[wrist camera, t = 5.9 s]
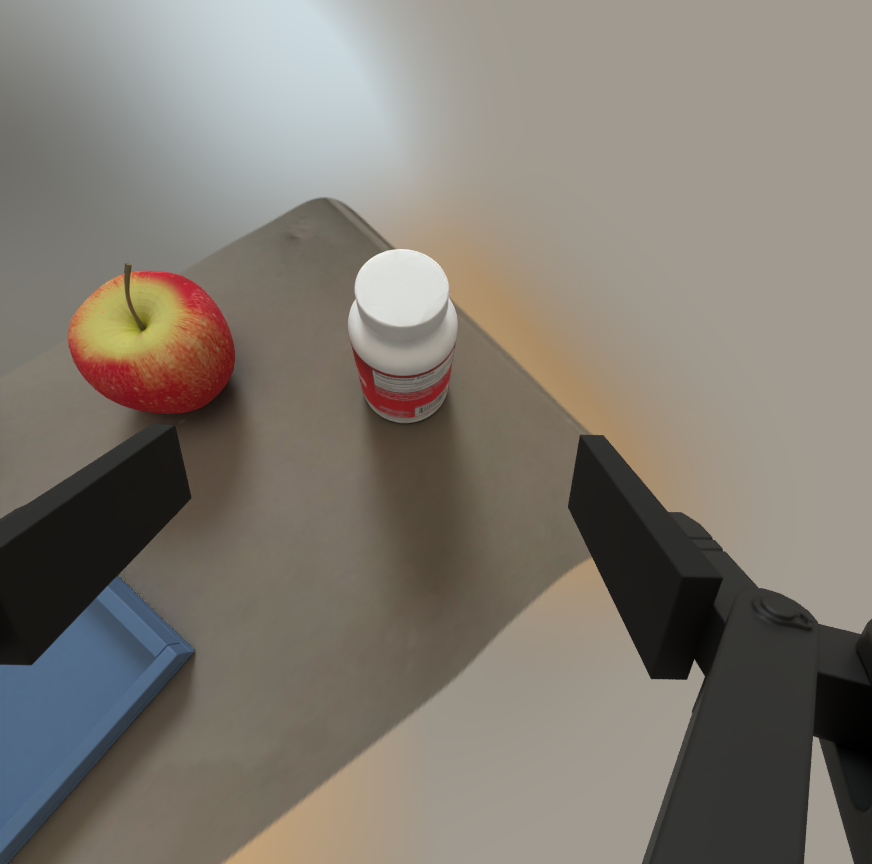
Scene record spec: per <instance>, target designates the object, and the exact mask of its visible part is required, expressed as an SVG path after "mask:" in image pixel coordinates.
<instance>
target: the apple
mask: <svg viewBox="0 0 872 864" xmlns="http://www.w3.org/2000/svg"><path fill="white" fill-rule="evenodd" d="M131 266H132V265H131V264H129V263H125V270H124V274H122V275H120V276H117V277H115V278H113V279H112V280H110V281H108V282H107V283H105V284H104V285H103V286H101V287H100V288H99V289H97V290H96V291H95V292H94V293H93V294H92V295H91V296H90V297H89V298H88V299H87V300H86V301H85V302H84V303H83V304H82V305H81V306H80V307H79V309H78V310H77V311H76V313H75V314H74V316H73V318H72V320H71V322H70V326H69V330H68V343H69V349H70V352H71V355H72V358H73V360H74V363H75V365H76V366H77V368H78V370H79V371H80V373H81V374H82V375H83V377H84V378H85V379H86V380H87V381H88V382H89V383H90V384H91V385H92V386H93V387H94V388H95V389H96V390H97V391H98V392H100V393H101V394H102V395H104V396H105V397H106V398H108V399H110V400H112V401H114V402H116V403H118V404H120V405H123V406H125V407H129V408H132V409H135V410H139V411H145V412H151V413H161V414H172V413H185V412H190V411H193V410H197V409H199V408H201V407H203V406H205V405H206V404H208V403H209V402H210V401H212V400H213V399H214V398H215V397H216V396H217V395H218V394H219V393H220V392H221V390H222V389H223V388H224V387H225V385H226V384H227V382H228V381H229V379H230V377H231V374H232V372H233V369H234V363H235V351H234V344H233V340H232V336H231V333H230V330H229V327H228V325H227V323H226V320H225V318H224V316H223V314H222V313H221V311H220V309H219V308H218V306H217V305H216V304H215V302H214V301H213V300H212V298H211V297H210V296H209V295H208V294H207V293H206V292H205V291H204V290H203V289H202V288H201V287H199V286H198V285H197V284H195V283H194V282H193V281H191V280H189V279H187V278H185V277H183V276H180V275H177V274H173V273H168V272H161V271H137V272H131Z"/></svg>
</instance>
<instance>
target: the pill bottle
mask: <svg viewBox="0 0 872 864" xmlns="http://www.w3.org/2000/svg"><path fill="white" fill-rule="evenodd" d="M355 297H356V299H355V301H354V303H353V305H352V307H351V310H350V313H349V318H348V330H349V336H350V341H351V345H352V349H353V353H354V357H355V361H356V365H357V369H358V373H359V378H360V382H361V386H362V390H363V393H364V396H365V399H366V401H367V402H368V404H369V405H370V407H371V408H372V409H373V410H374V411H375V412H376V413H377V414H379V415H380V416H382V417H383V418H385V419H388V420H390V421H394V422H398V423H412V422H417V421H420V420H423V419H425V418H427V417H429V416H430V415H432V414H433V413H434V412H435V411H436V410H437V409H438V408H439V407H440V406H441V405H442V403H443V401H444V399H445V397H446V394H447V391H448V386H449V379H450V373H451V367H452V361H453V354H454V349H455V344H456V338H457V330H458V321H457V315H456V311H455V308H454V306H453V304H452V302H451V300H450V299H449V284H448V280H447V277H446V275H445V273H444V271H443V270H442V268H441V267H440V266H439V265H438V264H437V263H436V262H435V261H434V260H433V259H431V258H430V257H428V256H426V255H424V254H422V253H420V252H416V251H413V250H405V249H397V250H390V251H386V252H383V253H380V254H378V255H376V256H374V257H373V258H371V259H370V260H369V261H368V262H366V263H365V264H364V266H363V267H362V268H361V269H360V271H359V273H358V275H357V278H356V282H355Z"/></svg>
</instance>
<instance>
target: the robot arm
mask: <svg viewBox="0 0 872 864" xmlns="http://www.w3.org/2000/svg"><path fill="white" fill-rule="evenodd" d="M190 499H191V494H190V489H189V485H188V480H187V476H186V471H185V467H184V462H183V458H182V454H181V449H180V445H179V440H178V436H177V431H176V427H175V425H161V424H151V425H149V426H148V427H146V428H145V429H143V430H142V431H140V432H138V433H137V434H135V435H134V436H132V437H131V438H129V439H128V440H126V441H125V442H123V443H121V444H120V445H118V446H117V447H115V448H114V449H112V450H111V451H109V452H107V453H106V454H104V455H103V456H101V457H100V458H98V459H97V460H95V461H93V462H92V463H90V464H89V465H87V466H86V467H84V468H83V469H81V470H80V471H78V472H76V473H75V474H73V475H72V476H70V477H69V478H67V479H66V480H64V481H62V482H61V483H59V484H58V485H56V486H55V487H53V488H52V489H50V490H48V491H47V492H45V493H44V494H42V495H41V496H39V497H38V498H36V499H35V500H33V501H31V502H30V503H28V504H27V505H25V506H22V507H20V508H18V509H15V510H14V511H12V512H11V513H9V514H7V515H6V516H4V517H3V518H1V519H0V665H33V664H34V663H35V662H36V660H37V659H38V658H39V657H40V656H41V655H42V654H43V653H44V652H45V651H46V650H47V649H48V648H49V647H50V646H51V645H52V644H53V643H54V642H55V641H56V639H57V638H58V637H59V636H60V635H61V634H62V633H63V632H64V631H65V630H66V629H67V628H68V627H69V626H70V625H71V624H72V623H73V622H74V621H75V620H76V619H77V617H78V616H79V615H80V614H81V613H82V612H83V611H84V610H85V609H86V608H87V607H88V606H89V605H90V604H91V603H92V602H93V601H94V600H95V599H96V598H97V597H98V595H99V594H100V593H101V592H102V591H103V590H104V589H105V588H106V587H107V586H108V585H109V584H110V583H111V582H112V581H113V580H114V579H115V578H116V577H117V576H118V575H119V573H120V572H121V571H122V570H123V569H124V568H125V567H126V566H127V565H128V564H129V563H130V562H131V561H132V560H133V559H134V558H135V557H136V556H137V555H138V554H139V553H140V551H141V550H142V549H143V548H144V547H145V546H146V545H147V544H148V543H149V542H150V541H151V540H152V539H153V538H154V537H155V536H156V535H157V534H158V533H159V532H160V531H161V529H162V528H163V527H164V526H165V525H166V524H167V523H168V522H169V521H170V520H171V519H172V518H173V517H174V516H175V515H176V514H177V513H178V512H179V511H180V510H181V509H182V507H183V506H184V505H185V504H186V503H187V502H188V501H189V500H190ZM568 508H569V510H570V512H571V514H572V516H573V518H574V521H575V523H576V525H577V527H578V529H579V531H580V533H581V535H582V537H583V539H584V541H585V543H586V545H587V547H588V550H589V552H590V554H591V556H592V558H593V560H594V562H595V564H596V566H597V568H598V570H599V572H600V574H601V576H602V578H603V581H604V583H605V585H606V587H607V588H608V591H609V593H610V595H611V597H612V599H613V601H614V603H615V605H616V607H617V609H618V612H619V614H620V616H621V617H622V620H623V622H624V624H625V626H626V628H627V630H628V632H629V634H630V636H631V638H632V640H633V643H634V644H635V647H636V649H637V651H638V653H639V655H640V657H641V659H642V661H643V663H644V665H645V667H646V669H647V672H648V674H649V676H650V678H651V679H676V680H680V679H681V680H687V678H688V675H689V673H690V670H691V667H692V664H693V661H694V659H695V661H696V662H697V664H698V665H699V667H700V669H701V670H702V672H703V674H704V675H705V678H704V681H703V684H702V686H701V689H700V692H699V694H698V697H697V699H696V702H695V705H694V707H693V710H692V716H691V719H690V722H689V725H688V728H687V731H686V734H685V737H684V740H683V743H682V746H681V749H680V752H679V755H678V758H677V761H676V764H675V767H674V769H673V772H672V775H671V778H670V782H669V784H668V787H667V790H666V793H665V796H664V799H663V802H662V805H661V808H660V811H659V814H658V817H657V820H656V823H655V826H654V829H653V832H652V835H651V838H650V841H649V844H648V847H647V850H646V853H645V856H644V859H643V862H642V864H804V853H805V839H806V838H805V837H806V825H807V811H808V797H809V782H810V768H811V756H812V742H813V736H814V737H818V738H819V740H820V744H821V748H822V751H823V755H824V758H825V762H826V765H827V769H828V772H829V776H830V780H831V783H832V787H833V790H834V794H835V797H836V801H837V804H838V808H839V812H840V815H841V819H842V822H843V826H844V829H845V833H846V836H847V840H848V843H849V847H850V851H851V854H852V858H853V861H854V864H872V619H871V620H870V621H869V622H868V623H867V625H866V627H865V628H864V630H863V632H862V634H858V633H853V632H850V631H846V630H841V629H837V628H833V627H829V626H825V625H821V624H818V622H817V620H816V619H815V618H814V617H813V616H812V614H811V613H810V612H809V611H808V610H807V609H805V608H804V607H802V606H801V605H800V604H798V603H797V602H795V601H794V600H792V599H790V598H788V597H785V596H784V595H782V594H779V593H776V592H773V591H770V590H767V589H762V588H758V587H757V586H756V584H755V583H753V581H752V580H751V579H750V578H749V577H748V576H747V575H746V574H745V572H744V571H743V570H742V569H741V568H740V567H739V566H738V565H737V564H736V563H735V562H734V561H733V560H732V558H731V557H730V556H729V555H728V554H727V553H726V552H723V549H722V547H721V546H720V545H719V544H718V543H717V542H716V541H715V540H713V539H712V537H711V535H710V534H709V533H708V532H707V531H706V530H705V529H704V528H703V527H702V526H701V525H700V524H699V523H697V522H696V521H694V520H693V519H691V518H690V517H688V516H686V515H685V514H683V513H681V512H667V510H666V509H665V508H664V507H663V506H662V504H661V503H660V502H659V501H658V500H657V499H656V497H655V496H654V495H653V494H652V492H651V491H650V490H649V489H648V488H647V486H646V485H645V484H644V483H643V482H642V481H641V479H640V478H639V477H638V476H637V475H636V473H635V472H634V471H633V470H632V469H631V467H630V466H629V465H628V464H627V463H626V462H625V460H624V459H623V458H622V457H621V456H620V454H619V453H618V452H617V451H616V450H615V448H614V447H613V446H612V445H611V444H610V443H609V441H608V440H607V439H606V438H605V437H604V436H603V435H580V438H579V444H578V450H577V456H576V462H575V468H574V474H573V480H572V486H571V492H570V498H569V504H568Z"/></svg>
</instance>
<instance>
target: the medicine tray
mask: <svg viewBox="0 0 872 864" xmlns="http://www.w3.org/2000/svg"><path fill="white" fill-rule="evenodd" d="M194 652H195V650H194V649H193V648H192V647H191V646H190V645H189V644H188V643H187V642H185V641H184V640H183V639H182V638H181V637H180V636H179V635H178V634H177V633H176V632H175V631H174V630H173V629H172V628H171V627H170V626H169V625H168V624H167V623H166V622H165V621H164V620H163V619H162V618H161V617H160V616H159V615H158V614H157V613H156V612H155V611H154V610H152V609H151V608H150V607H149V606H148V605H147V604H146V603H145V602H144V601H143V600H142V599H141V598H140V597H139V596H138V595H137V594H136V593H135V592H134V591H133V590H132V589H131V588H130V587H129V586H128V585H127V584H126V583H125V582H124V581H123V580H122V579H121V578H119V577H118V576H117V577H116V578H115V579H114V580H113V581H112V582H111V583H110V584H109V585H108V586H107V587H106V588H105V589H104V590H103V591H102V592H101V593H100V594H99V595H98V597H97V598H96V599H95V600H94V601H93V602H92V603H91V604H90V605H89V606H88V607H87V608H86V609H85V610H84V611H83V612H82V613H81V614H80V615H79V616H78V617H77V619H76V620H75V621H74V622H73V623H72V624H71V625H70V626H69V627H68V628H67V629H66V630H65V631H64V632H63V633H62V634H61V635H60V636H59V637H58V638H57V639H56V641H55V642H54V643H53V644H52V645H51V646H50V647H49V648H48V649H47V650H46V651H45V652H44V653H43V654H42V655H41V656H40V657H39V658H38V659H37V660H36V662H35V663H34V664H33V665H0V864H8V863H9V862H10V861H11V860H12V858H13V857H14V856H15V855H16V854H17V853H18V852H19V851H20V849H21V848H22V847H23V846H24V845H25V844H26V843H27V841H28V840H29V839H30V838H31V837H32V836H33V835H34V834H35V832H36V831H37V830H38V829H39V828H40V827H41V826H42V824H43V823H44V822H45V821H46V820H47V819H48V818H49V816H50V815H51V814H52V813H53V812H54V811H55V810H56V809H57V807H58V806H59V805H60V804H61V803H62V802H63V801H64V799H65V798H66V797H67V796H68V795H69V794H70V793H71V792H72V790H73V789H74V788H75V787H76V786H77V785H78V784H79V782H80V781H81V780H82V779H83V778H84V777H85V776H86V774H87V773H88V772H89V771H90V770H91V769H92V768H93V767H94V765H95V764H96V763H97V762H98V761H99V760H100V759H101V757H102V756H103V755H104V754H105V753H106V752H107V751H108V750H109V748H110V747H111V746H112V745H113V744H114V743H115V742H116V740H117V739H118V738H119V737H120V736H121V735H122V734H123V733H124V731H125V730H126V729H127V728H128V727H129V726H130V725H131V723H132V722H133V721H134V720H135V719H136V718H137V717H138V715H139V714H140V713H141V712H142V711H143V710H144V709H145V708H146V706H147V705H148V704H149V703H150V702H151V701H152V700H153V698H154V697H155V696H156V695H157V694H158V693H159V692H160V691H161V689H162V688H163V687H164V686H165V685H166V684H167V683H168V681H169V680H170V679H171V678H172V677H173V676H174V675H175V673H176V672H177V671H178V670H179V669H180V668H181V667H182V666H183V664H184V663H185V662H186V661H187V660H188V659H189V658H190V656H191V655H192V654H193V653H194Z"/></svg>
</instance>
